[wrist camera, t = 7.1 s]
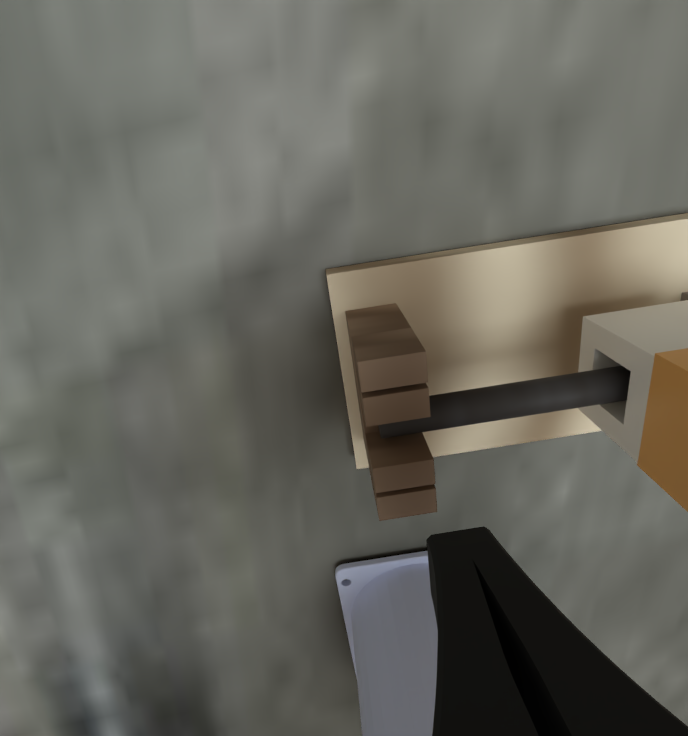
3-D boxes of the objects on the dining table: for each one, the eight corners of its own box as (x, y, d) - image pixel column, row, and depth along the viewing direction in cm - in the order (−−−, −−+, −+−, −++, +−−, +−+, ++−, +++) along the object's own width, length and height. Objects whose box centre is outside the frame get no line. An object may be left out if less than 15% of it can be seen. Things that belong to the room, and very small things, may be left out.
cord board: (354, 456, 22) (371, 561, 16) (325, 269, 18) (332, 318, 12) (727, 397, 22) (876, 481, 16) (774, 199, 18) (992, 215, 12)
